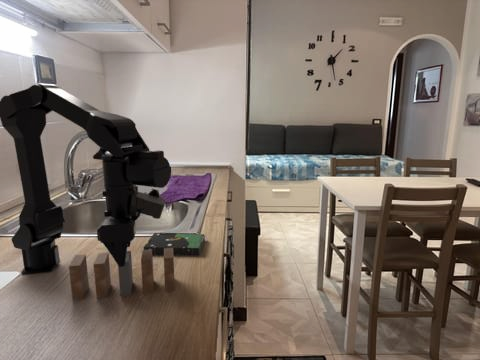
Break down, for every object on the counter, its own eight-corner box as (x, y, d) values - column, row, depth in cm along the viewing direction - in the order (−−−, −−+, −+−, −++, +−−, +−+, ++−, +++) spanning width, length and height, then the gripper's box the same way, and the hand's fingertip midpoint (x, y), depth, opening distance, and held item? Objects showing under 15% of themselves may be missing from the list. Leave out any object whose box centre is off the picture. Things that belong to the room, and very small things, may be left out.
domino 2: (96, 298, 68) (93, 264, 66) (101, 285, 72) (98, 253, 71) (107, 297, 68) (104, 263, 66) (111, 284, 73) (108, 252, 71)
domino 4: (142, 293, 69) (140, 260, 68) (144, 281, 74) (142, 250, 72) (152, 292, 70) (151, 259, 68) (153, 280, 75) (152, 249, 73)
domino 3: (120, 295, 68) (117, 262, 67) (123, 283, 73) (121, 251, 72) (130, 294, 69) (128, 261, 67) (132, 282, 74) (130, 250, 72)
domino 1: (72, 300, 67) (68, 266, 65) (78, 287, 71) (75, 255, 70) (83, 299, 67) (79, 265, 65) (88, 286, 72) (85, 254, 70)
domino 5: (165, 291, 70) (163, 258, 69) (165, 279, 75) (163, 248, 73) (174, 290, 71) (173, 257, 69) (174, 278, 75) (173, 247, 74)
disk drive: (143, 257, 87) (200, 257, 87) (143, 247, 87) (200, 247, 86) (154, 241, 97) (205, 241, 97) (153, 232, 97) (204, 232, 97)
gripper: (160, 192, 59) (164, 274, 62) (162, 172, 76) (165, 236, 80) (92, 195, 56) (100, 280, 60) (110, 173, 74) (115, 239, 78)
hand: (124, 255), depth 69 cm, fingers open, 9 cm apart
